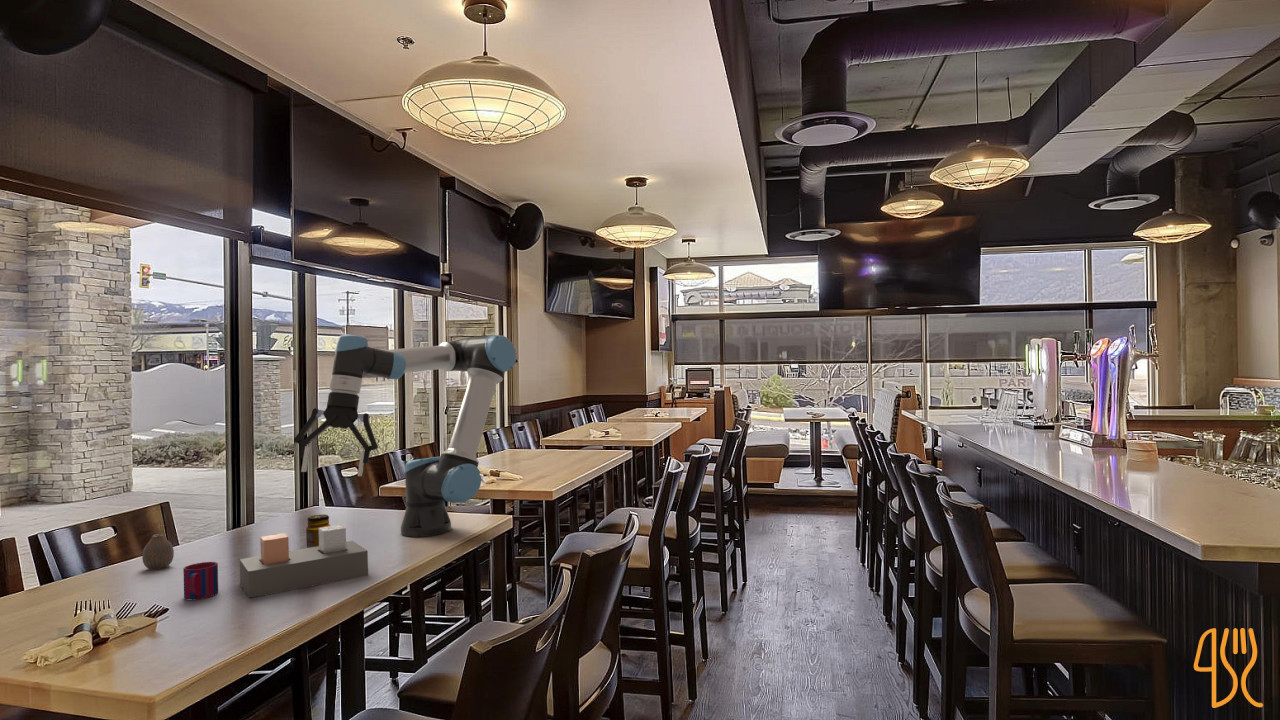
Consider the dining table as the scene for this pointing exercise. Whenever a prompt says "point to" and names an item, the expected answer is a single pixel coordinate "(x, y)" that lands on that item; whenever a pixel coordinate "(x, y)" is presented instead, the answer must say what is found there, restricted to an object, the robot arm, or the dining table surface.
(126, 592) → the dining table surface
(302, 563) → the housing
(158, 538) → the vase
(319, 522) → the condiment
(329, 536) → the white block
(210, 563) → the mug
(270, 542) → the tan rectangular block
